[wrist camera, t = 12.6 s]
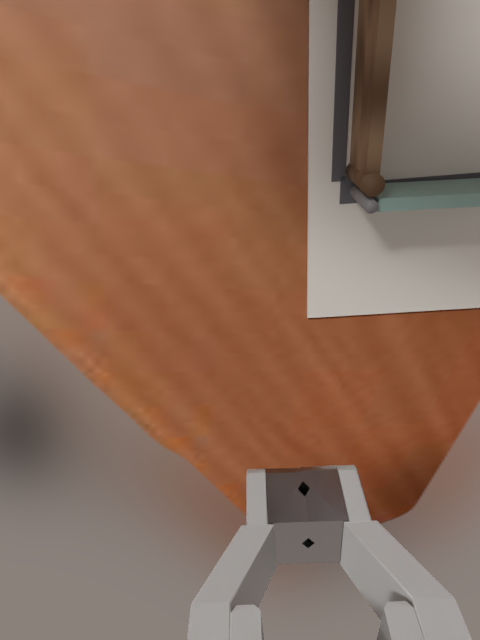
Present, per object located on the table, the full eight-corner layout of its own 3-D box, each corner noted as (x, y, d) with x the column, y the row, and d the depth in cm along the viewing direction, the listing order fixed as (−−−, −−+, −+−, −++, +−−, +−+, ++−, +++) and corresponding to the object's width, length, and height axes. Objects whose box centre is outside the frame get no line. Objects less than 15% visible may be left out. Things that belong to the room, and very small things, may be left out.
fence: (356, -29, 27) (381, -55, 22) (379, -31, 27) (410, -58, 22) (345, 180, 34) (362, 197, 29) (363, 179, 34) (384, 195, 29)
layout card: (309, -26, 28) (310, -28, 27) (606, -59, 27) (612, -61, 26) (306, 316, 42) (307, 318, 42) (500, 304, 41) (502, 306, 40)
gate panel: (348, 196, 35) (364, 214, 30) (349, 184, 34) (365, 200, 29) (500, 188, 34) (541, 204, 29) (503, 176, 34) (546, 191, 29)
